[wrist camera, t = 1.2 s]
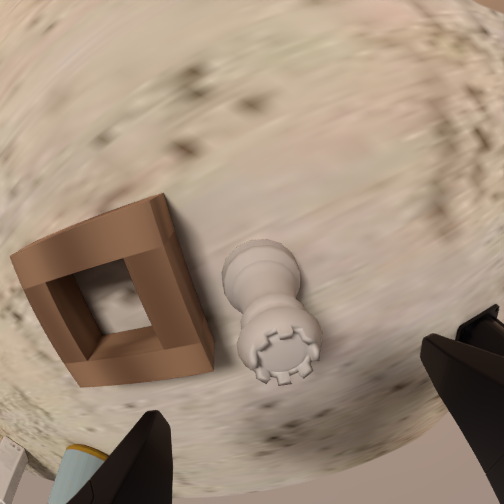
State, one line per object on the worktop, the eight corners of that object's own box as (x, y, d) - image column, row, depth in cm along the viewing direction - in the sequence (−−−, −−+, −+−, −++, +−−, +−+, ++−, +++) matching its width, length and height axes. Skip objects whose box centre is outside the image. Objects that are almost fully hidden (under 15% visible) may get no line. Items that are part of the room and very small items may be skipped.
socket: (163, 192, 15) (149, 200, 12) (214, 341, 18) (213, 371, 15) (35, 241, 15) (9, 256, 12) (93, 361, 18) (80, 387, 15)
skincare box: (4, 434, 22) (-20, 485, 11) (25, 448, 23) (3, 502, 12) (9, 447, 24) (-11, 494, 12) (29, 460, 25) (11, 508, 13)
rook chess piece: (310, 277, 17) (364, 358, 10) (252, 318, 18) (269, 415, 10) (267, 220, 16) (305, 278, 8) (205, 267, 16) (193, 355, 9)
